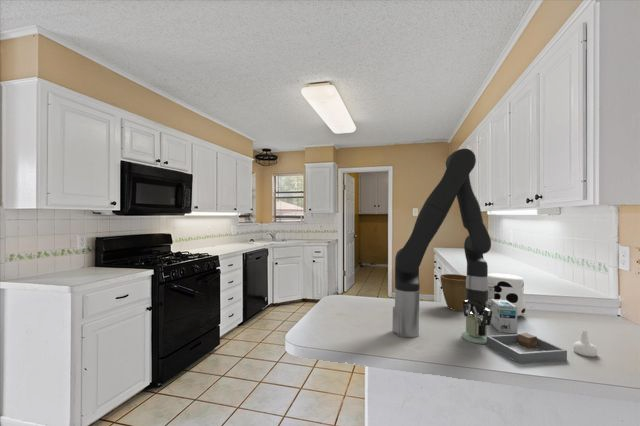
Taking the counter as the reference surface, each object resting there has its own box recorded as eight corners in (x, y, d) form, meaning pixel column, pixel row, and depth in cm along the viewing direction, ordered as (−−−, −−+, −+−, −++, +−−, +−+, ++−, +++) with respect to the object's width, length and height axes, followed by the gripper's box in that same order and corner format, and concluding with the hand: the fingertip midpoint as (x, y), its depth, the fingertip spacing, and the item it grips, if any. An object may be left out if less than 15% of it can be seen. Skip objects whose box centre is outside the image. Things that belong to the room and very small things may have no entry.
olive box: (465, 332, 118) (466, 316, 118) (477, 331, 119) (477, 315, 119) (474, 337, 113) (475, 320, 113) (487, 336, 114) (487, 320, 114)
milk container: (528, 314, 148) (528, 276, 148) (522, 323, 135) (522, 281, 135) (488, 306, 159) (488, 271, 159) (479, 314, 146) (479, 276, 146)
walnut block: (528, 349, 107) (528, 337, 107) (518, 344, 111) (518, 333, 111) (536, 348, 109) (536, 336, 109) (525, 343, 112) (526, 332, 112)
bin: (519, 363, 96) (519, 353, 96) (486, 344, 111) (486, 335, 111) (566, 359, 99) (566, 350, 99) (528, 341, 114) (528, 333, 114)
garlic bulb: (597, 355, 105) (597, 331, 105) (597, 359, 100) (597, 334, 101) (573, 349, 109) (573, 326, 110) (572, 353, 104) (572, 329, 105)
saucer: (473, 344, 110) (473, 342, 110) (456, 334, 120) (456, 332, 120) (497, 343, 112) (497, 341, 112) (479, 333, 121) (479, 331, 121)
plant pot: (437, 303, 163) (437, 273, 163) (467, 305, 160) (467, 274, 160) (442, 311, 149) (443, 278, 149) (475, 314, 146) (476, 280, 146)
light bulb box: (517, 334, 121) (518, 306, 122) (499, 332, 123) (499, 305, 123) (507, 324, 132) (507, 299, 132) (490, 323, 133) (490, 298, 133)
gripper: (456, 283, 122) (455, 326, 122) (481, 292, 108) (480, 340, 108) (473, 283, 124) (472, 325, 123) (499, 291, 110) (499, 339, 109)
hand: (476, 332), depth 116 cm, fingers closed on olive box, 5 cm apart
